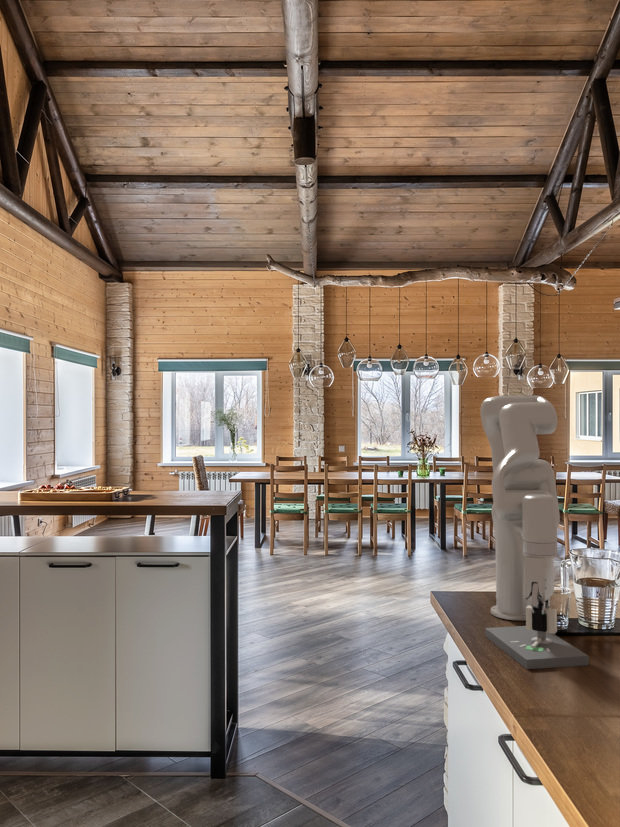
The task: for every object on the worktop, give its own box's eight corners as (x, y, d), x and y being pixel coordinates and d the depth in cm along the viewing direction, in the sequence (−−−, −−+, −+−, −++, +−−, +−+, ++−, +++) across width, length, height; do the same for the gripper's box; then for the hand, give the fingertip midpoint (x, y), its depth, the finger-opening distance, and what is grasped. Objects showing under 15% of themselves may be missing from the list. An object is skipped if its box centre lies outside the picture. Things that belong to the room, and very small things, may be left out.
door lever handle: (518, 645, 148) (517, 614, 149) (528, 634, 156) (528, 605, 156) (548, 650, 145) (547, 618, 145) (557, 639, 152) (556, 609, 152)
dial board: (485, 636, 163) (485, 627, 163) (539, 633, 165) (539, 624, 165) (526, 669, 141) (526, 659, 141) (588, 665, 143) (588, 655, 143)
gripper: (532, 541, 162) (533, 617, 162) (513, 553, 149) (515, 636, 148) (564, 544, 158) (565, 622, 158) (548, 556, 144) (550, 641, 144)
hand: (541, 628), depth 153 cm, fingers closed on door lever handle, 2 cm apart
